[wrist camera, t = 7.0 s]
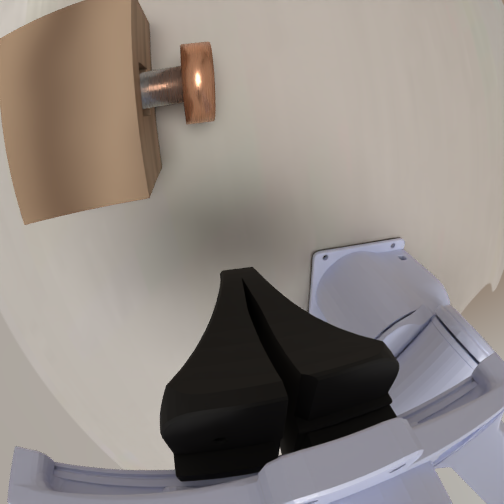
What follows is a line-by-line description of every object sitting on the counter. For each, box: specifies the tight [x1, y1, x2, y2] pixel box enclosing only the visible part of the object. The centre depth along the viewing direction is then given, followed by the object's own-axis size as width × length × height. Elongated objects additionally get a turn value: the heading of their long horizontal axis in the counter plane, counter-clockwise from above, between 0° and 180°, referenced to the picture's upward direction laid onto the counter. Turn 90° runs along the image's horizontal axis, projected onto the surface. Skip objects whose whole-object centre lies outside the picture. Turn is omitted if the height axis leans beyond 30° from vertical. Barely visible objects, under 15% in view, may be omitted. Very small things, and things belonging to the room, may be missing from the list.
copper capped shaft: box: [139, 42, 215, 124], centre depth 12 cm, size 11×4×4 cm, turn 93°
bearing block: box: [0, 0, 162, 225], centre depth 12 cm, size 7×10×7 cm
